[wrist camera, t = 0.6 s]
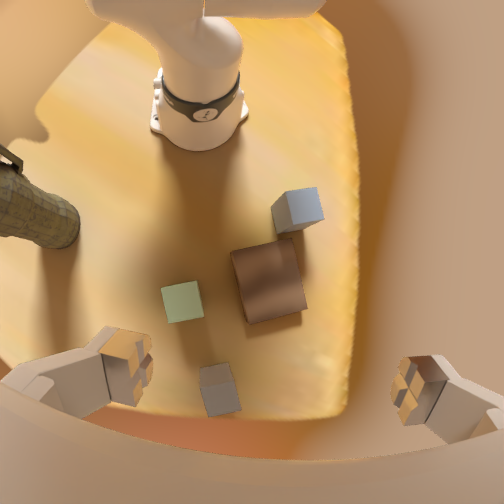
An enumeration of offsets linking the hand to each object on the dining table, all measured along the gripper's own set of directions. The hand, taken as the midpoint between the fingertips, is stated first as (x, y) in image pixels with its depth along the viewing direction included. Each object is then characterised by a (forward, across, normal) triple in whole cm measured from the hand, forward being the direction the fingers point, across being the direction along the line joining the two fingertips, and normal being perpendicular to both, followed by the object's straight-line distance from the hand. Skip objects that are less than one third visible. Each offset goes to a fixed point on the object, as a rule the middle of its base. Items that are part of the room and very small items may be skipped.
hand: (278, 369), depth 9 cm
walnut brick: (+42, 0, +12) cm, 44 cm away
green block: (+38, +13, +15) cm, 43 cm away
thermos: (+37, +38, +4) cm, 53 cm away
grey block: (+35, +6, +28) cm, 45 cm away
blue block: (+46, -3, +1) cm, 46 cm away
